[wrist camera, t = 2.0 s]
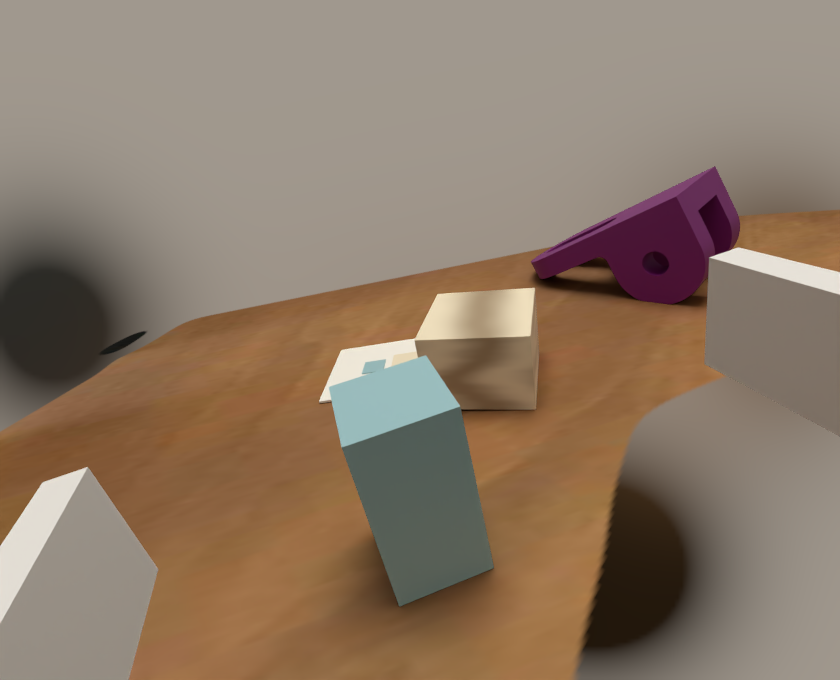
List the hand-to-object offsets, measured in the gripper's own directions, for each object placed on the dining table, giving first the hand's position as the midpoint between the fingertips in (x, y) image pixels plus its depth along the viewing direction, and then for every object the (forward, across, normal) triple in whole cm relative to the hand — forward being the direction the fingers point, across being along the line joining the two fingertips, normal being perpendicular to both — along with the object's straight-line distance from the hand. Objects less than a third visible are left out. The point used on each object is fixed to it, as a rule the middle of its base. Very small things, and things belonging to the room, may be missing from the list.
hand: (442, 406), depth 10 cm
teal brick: (+10, 0, -16) cm, 19 cm away
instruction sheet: (+31, +2, -15) cm, 34 cm away
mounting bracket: (+34, +28, -16) cm, 47 cm away
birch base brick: (+24, +8, -15) cm, 29 cm away
